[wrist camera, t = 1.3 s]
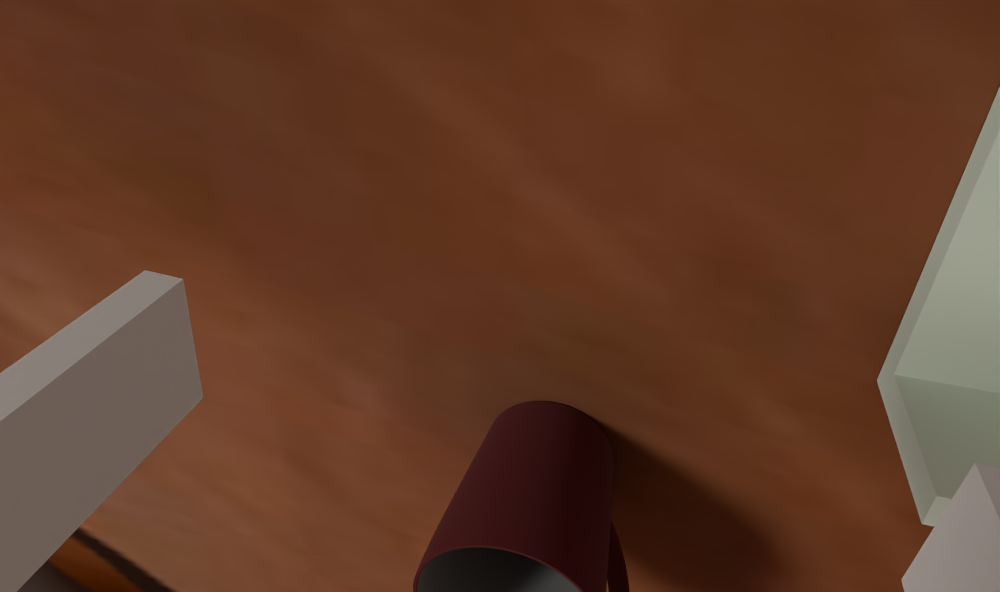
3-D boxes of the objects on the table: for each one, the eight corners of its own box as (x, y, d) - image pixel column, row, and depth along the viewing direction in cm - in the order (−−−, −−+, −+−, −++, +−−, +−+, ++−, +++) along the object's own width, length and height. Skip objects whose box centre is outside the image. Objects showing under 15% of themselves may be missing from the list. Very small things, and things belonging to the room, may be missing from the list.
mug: (694, 501, 41) (689, 684, 32) (582, 554, 46) (550, 727, 37) (551, 363, 39) (500, 517, 29) (448, 433, 43) (377, 586, 34)
